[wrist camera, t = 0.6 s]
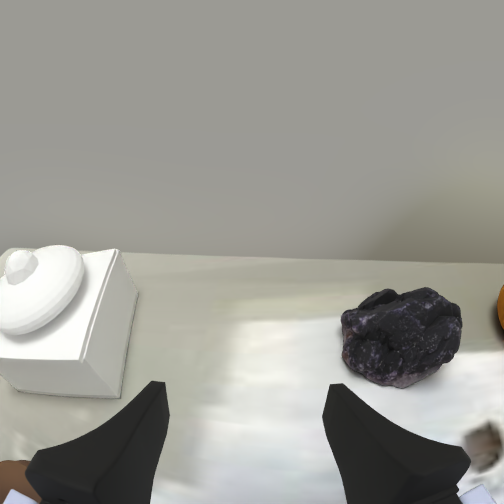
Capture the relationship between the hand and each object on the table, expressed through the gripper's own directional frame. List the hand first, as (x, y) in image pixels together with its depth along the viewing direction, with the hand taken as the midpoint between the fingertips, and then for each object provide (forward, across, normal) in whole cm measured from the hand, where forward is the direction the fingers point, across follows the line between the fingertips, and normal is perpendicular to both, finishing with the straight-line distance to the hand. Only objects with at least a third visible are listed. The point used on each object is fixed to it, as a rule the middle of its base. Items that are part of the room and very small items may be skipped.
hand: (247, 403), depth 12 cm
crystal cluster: (+17, -18, +8) cm, 26 cm away
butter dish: (+22, +23, +12) cm, 34 cm away
